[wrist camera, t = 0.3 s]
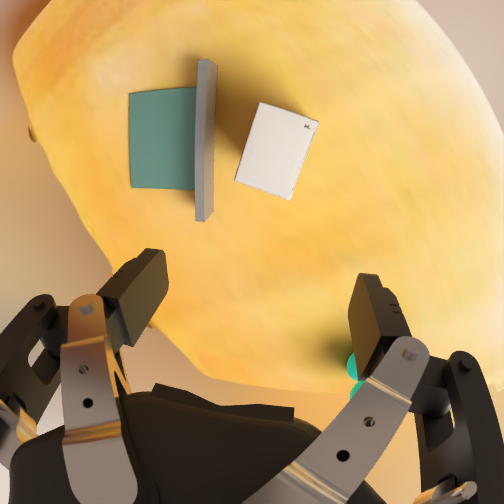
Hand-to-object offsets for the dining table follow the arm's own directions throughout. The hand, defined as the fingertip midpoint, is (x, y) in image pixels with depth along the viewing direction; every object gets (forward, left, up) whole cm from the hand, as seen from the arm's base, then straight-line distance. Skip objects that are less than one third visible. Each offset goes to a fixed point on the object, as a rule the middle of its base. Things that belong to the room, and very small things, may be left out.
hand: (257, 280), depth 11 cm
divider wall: (-3, -10, -26) cm, 28 cm away
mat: (-3, -16, -26) cm, 30 cm away
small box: (-3, -1, -26) cm, 26 cm away
